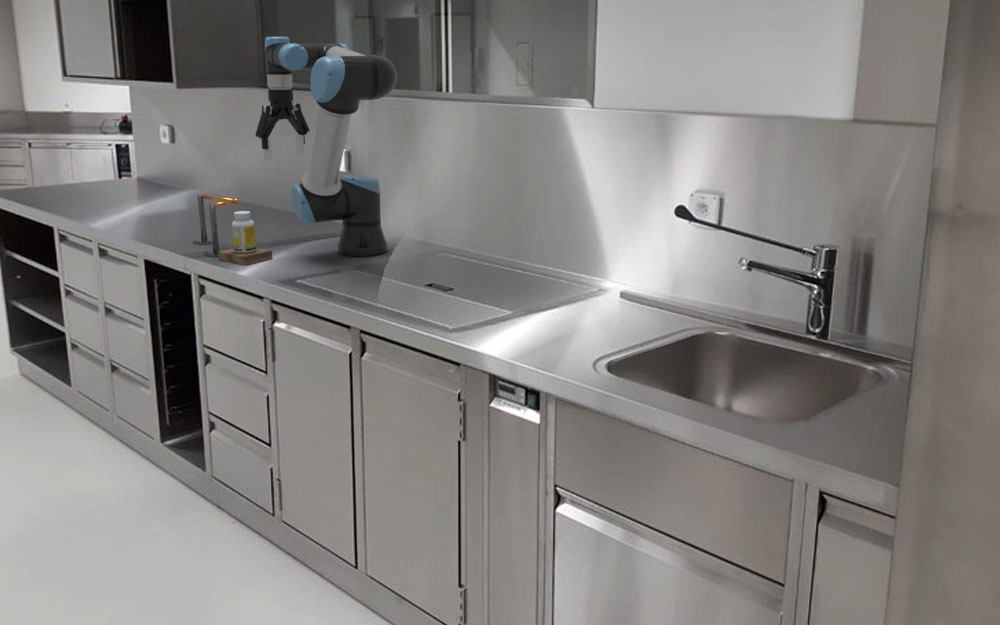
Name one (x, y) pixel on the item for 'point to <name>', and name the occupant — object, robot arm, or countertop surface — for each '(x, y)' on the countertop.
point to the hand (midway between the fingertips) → (284, 157)
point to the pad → (245, 256)
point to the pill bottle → (243, 232)
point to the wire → (213, 221)
